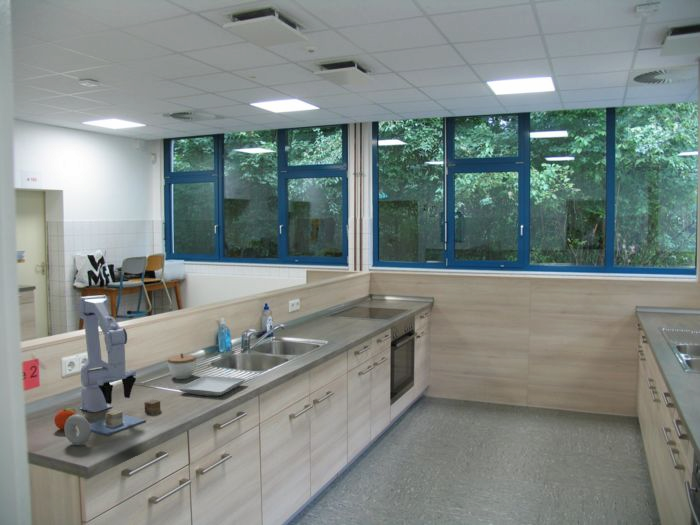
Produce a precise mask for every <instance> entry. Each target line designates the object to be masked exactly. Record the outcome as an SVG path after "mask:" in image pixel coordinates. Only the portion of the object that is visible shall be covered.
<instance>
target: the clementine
mask: <svg viewBox="0 0 700 525" xmlns="http://www.w3.org/2000/svg"><path fill="white" fill-rule="evenodd" d="M72 415H77V414H76V410H75V409H74V408H72V409H71V408H70V407H69V408H64V409H61V410H60V411H57V413H56V414H55V416H54V425H55V426H56V428H58V429H60V430H64V426H65V422H66V420H67V419H68V418H69V417H70V416H72Z"/></svg>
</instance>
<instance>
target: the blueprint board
mask: <svg viewBox="0 0 700 525" xmlns="http://www.w3.org/2000/svg"><path fill="white" fill-rule="evenodd" d="M122 415H123V423H120V424H117V425H115V426H111V425H107V424H106V418H103V419H101V420H98V421H95V422H92V423H89V425H90V428H91V433H97V434H100V435H103V436H106V437H107V436H109V435H112V434H116V433H118V432H122V431H124V430H127V429H129V428H132V427H134V426H135V427H136V426H137V425H141V424H143V423H146V422H147V419H142V418H139V417H134V416H130V415H127V414H123V413H122Z"/></svg>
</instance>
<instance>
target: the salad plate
mask: <svg viewBox="0 0 700 525" xmlns="http://www.w3.org/2000/svg"><path fill="white" fill-rule="evenodd" d="M245 381H246V378H245V377H244V378H242V377H240V378H239V377H232V376H231V377H229V376H213V375H212V376H211V375H204V376H202V377H200V378H196V379H195V380H192V381H191V382H188V383H186V384H184V385H182V386H179V387H178V388H177V389H178V390H179V391H180V392H182V393H185V394H191V395H198V394H201V395H200V396H209V395H213V397H219V395H220V396H222V394H223V395H225V394H227V393H229V392H230V391H232V390H234V389H235V388H238V386H241V385H242V384H243V383H244V382H245ZM233 388H234V389H233ZM226 392H227V393H226ZM224 393H225V394H224Z"/></svg>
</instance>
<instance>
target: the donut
mask: <svg viewBox="0 0 700 525" xmlns="http://www.w3.org/2000/svg"><path fill="white" fill-rule="evenodd" d="M89 424H90V422H89V421H88V420H87V418H86V417H84V416H83V415H81V414H79V413H78V414H76V415H72V416H70V417H69V418H68V419H67V420H66V422H65V426H64V435H65V437H66V439H67V441H69V442H70V443H71V444H72V445H74V446H82V445H85V444H86V443H87V442H88V441H89V439H90V438H91V433H92V431H91V428H90V425H89ZM76 427H77V428H76ZM77 429H78V431H79V432H77Z"/></svg>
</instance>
